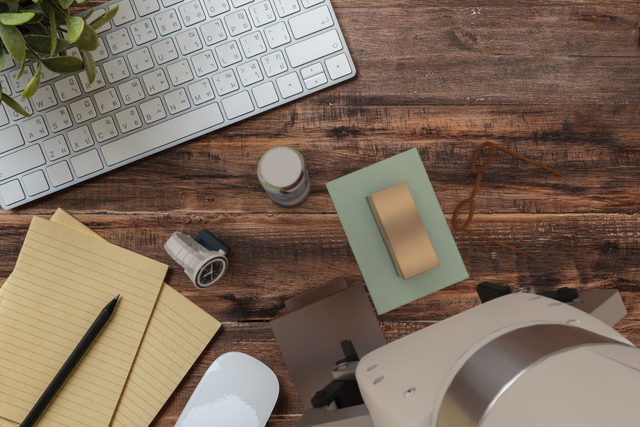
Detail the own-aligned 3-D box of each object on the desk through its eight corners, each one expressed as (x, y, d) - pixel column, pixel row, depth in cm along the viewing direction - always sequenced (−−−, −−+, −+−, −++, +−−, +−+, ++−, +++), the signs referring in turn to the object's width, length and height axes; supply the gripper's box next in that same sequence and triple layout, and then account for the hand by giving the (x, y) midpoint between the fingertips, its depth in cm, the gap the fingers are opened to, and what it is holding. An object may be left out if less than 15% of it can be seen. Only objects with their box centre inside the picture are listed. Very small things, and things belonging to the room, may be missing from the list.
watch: (217, 287, 67) (201, 299, 56) (171, 252, 67) (146, 256, 56) (242, 256, 67) (231, 261, 56) (197, 220, 67) (177, 218, 56)
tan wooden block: (429, 262, 68) (440, 265, 63) (397, 276, 67) (405, 279, 62) (397, 184, 68) (405, 180, 63) (365, 197, 68) (370, 194, 63)
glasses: (476, 143, 69) (490, 136, 64) (560, 173, 69) (580, 169, 64) (447, 229, 68) (458, 229, 63) (532, 259, 69) (550, 262, 64)
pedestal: (381, 360, 67) (415, 414, 47) (315, 388, 67) (322, 455, 47) (343, 267, 68) (362, 283, 48) (277, 294, 67) (268, 322, 47)
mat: (468, 277, 68) (469, 277, 68) (378, 314, 68) (378, 315, 67) (415, 147, 69) (416, 147, 68) (325, 183, 68) (325, 183, 68)
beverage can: (284, 217, 67) (280, 215, 55) (253, 175, 68) (243, 163, 56) (320, 191, 68) (324, 183, 56) (289, 149, 68) (287, 132, 56)
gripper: (346, 698, 14) (320, 439, 31) (866, 456, 15) (561, 335, 32) (249, 454, 14) (276, 330, 31) (770, 229, 15) (518, 230, 32)
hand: (421, 333), depth 31 cm, fingers open, 9 cm apart
